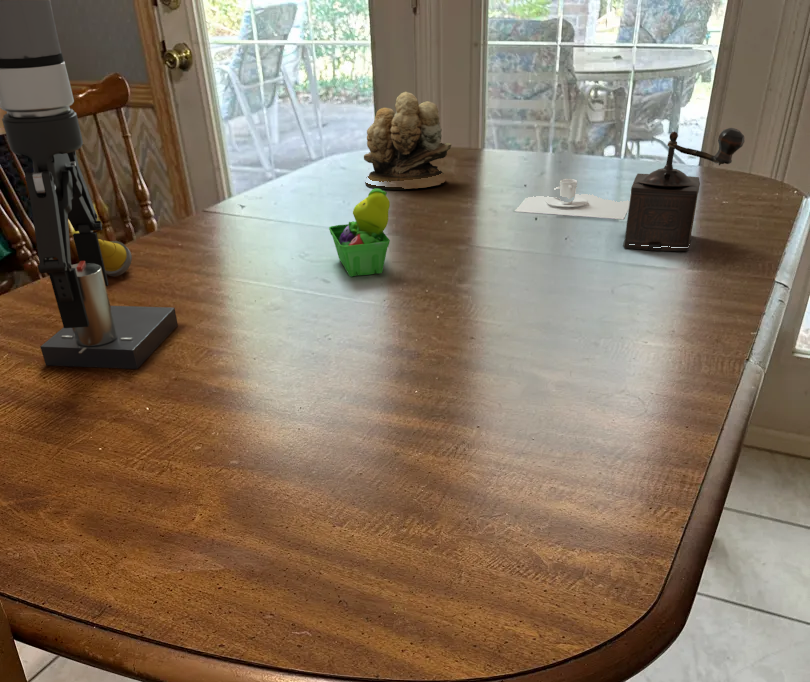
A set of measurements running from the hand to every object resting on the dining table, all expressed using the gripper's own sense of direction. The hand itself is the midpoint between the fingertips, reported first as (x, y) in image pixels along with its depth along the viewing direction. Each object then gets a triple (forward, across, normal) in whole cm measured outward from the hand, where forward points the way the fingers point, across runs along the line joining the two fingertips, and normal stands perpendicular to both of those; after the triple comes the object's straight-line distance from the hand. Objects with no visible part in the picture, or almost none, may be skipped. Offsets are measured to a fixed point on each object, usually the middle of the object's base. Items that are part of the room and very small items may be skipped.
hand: (87, 305), depth 100 cm
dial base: (+7, -4, +1) cm, 8 cm away
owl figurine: (+7, -79, +49) cm, 94 cm away
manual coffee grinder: (+7, -30, +87) cm, 92 cm away
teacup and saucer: (+7, -59, +79) cm, 99 cm away
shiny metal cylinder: (+4, 0, 0) cm, 4 cm away
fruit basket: (+7, -29, +36) cm, 46 cm away
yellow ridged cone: (+7, -32, -3) cm, 33 cm away
